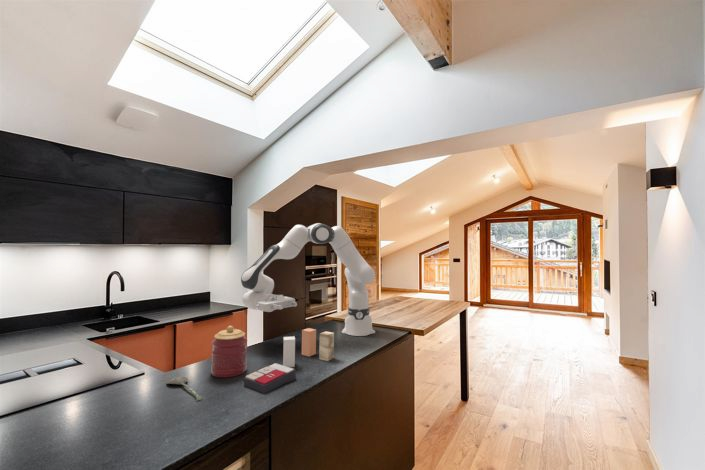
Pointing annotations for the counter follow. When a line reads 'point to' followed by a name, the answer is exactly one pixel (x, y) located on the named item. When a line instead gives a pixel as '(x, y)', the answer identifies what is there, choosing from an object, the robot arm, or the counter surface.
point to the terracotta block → (308, 342)
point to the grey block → (289, 352)
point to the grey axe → (181, 381)
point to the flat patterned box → (269, 378)
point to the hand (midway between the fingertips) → (289, 306)
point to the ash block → (326, 346)
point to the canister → (229, 353)
